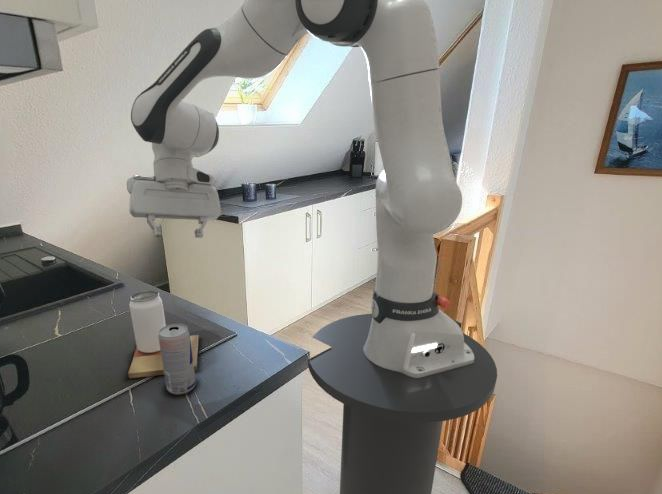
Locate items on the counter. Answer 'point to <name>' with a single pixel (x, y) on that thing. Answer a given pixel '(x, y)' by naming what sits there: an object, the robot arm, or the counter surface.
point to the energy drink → (177, 358)
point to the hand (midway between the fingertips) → (178, 236)
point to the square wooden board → (156, 361)
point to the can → (147, 320)
